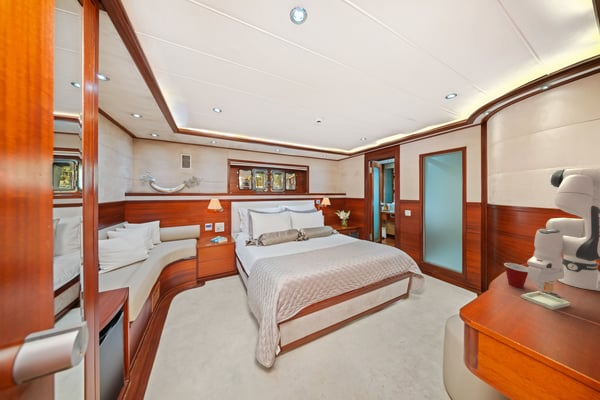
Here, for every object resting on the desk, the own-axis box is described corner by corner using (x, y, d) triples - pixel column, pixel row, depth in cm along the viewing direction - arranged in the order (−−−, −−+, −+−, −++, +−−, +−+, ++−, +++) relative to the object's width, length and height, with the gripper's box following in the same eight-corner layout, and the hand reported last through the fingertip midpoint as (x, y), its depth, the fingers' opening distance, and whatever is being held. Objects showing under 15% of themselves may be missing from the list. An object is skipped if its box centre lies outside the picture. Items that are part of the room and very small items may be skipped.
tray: (537, 294, 107) (538, 291, 107) (569, 306, 96) (570, 302, 96) (521, 298, 104) (521, 294, 104) (552, 310, 93) (552, 306, 93)
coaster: (545, 291, 110) (545, 289, 110) (565, 298, 103) (565, 296, 103) (537, 293, 108) (537, 291, 108) (556, 300, 101) (556, 298, 101)
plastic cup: (526, 292, 109) (527, 271, 109) (499, 284, 119) (500, 264, 118) (533, 288, 114) (534, 267, 113) (507, 280, 124) (508, 261, 123)
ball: (541, 288, 102) (542, 279, 102) (556, 293, 98) (556, 283, 97) (535, 290, 101) (535, 280, 101) (549, 295, 96) (550, 284, 96)
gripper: (551, 257, 104) (550, 283, 105) (524, 261, 99) (523, 288, 100) (570, 261, 98) (568, 288, 99) (542, 265, 93) (541, 294, 94)
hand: (545, 288), depth 99 cm, fingers closed on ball, 5 cm apart
